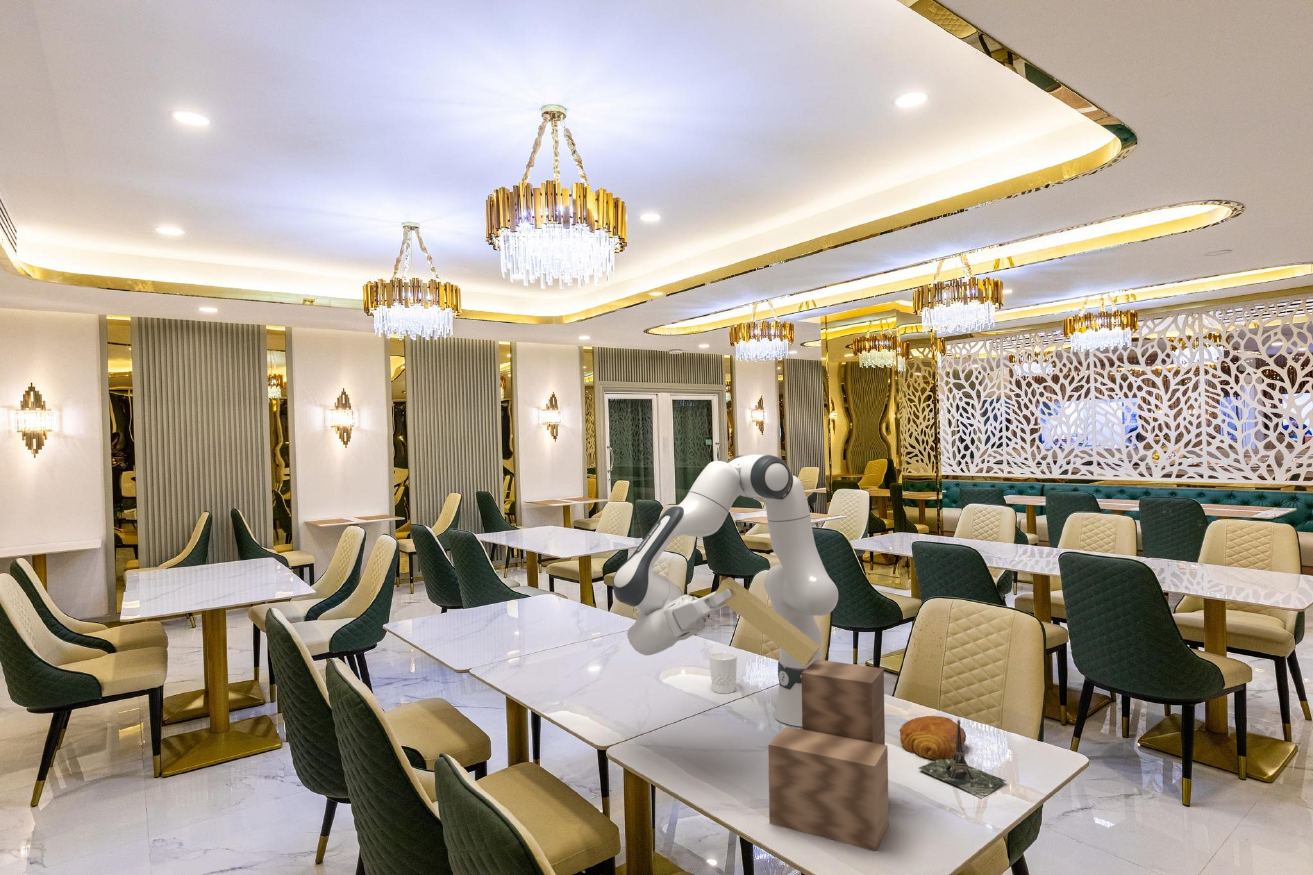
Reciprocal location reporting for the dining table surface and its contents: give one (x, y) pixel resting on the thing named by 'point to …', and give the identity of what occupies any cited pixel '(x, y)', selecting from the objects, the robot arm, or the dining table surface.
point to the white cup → (723, 671)
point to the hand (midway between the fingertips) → (736, 589)
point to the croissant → (931, 737)
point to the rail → (769, 622)
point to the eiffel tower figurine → (963, 772)
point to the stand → (834, 758)
